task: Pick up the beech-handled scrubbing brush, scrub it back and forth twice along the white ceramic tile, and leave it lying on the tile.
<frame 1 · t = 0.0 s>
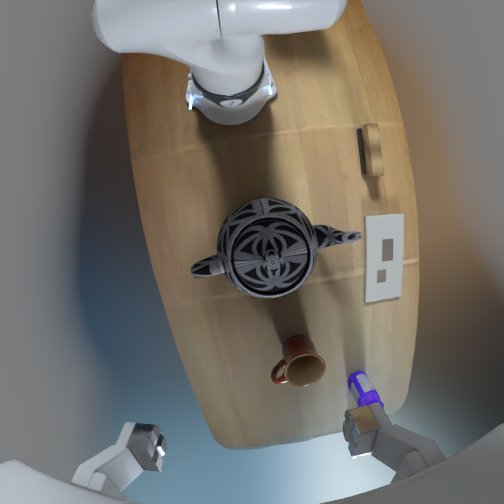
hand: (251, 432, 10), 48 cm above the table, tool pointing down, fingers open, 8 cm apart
teapot: (270, 242, 57), on the table
bottle: (356, 379, 66), on the table
tile: (383, 257, 58), on the table
mug: (291, 348, 63), on the table
brush: (367, 151, 53), on the table
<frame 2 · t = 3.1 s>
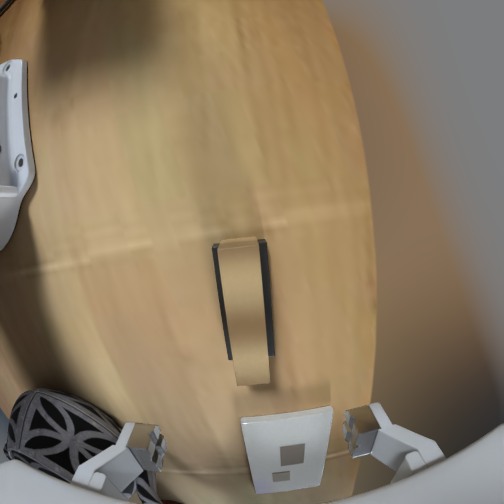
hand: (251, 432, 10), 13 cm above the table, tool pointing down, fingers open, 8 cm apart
teapot: (91, 426, 27), on the table
tile: (287, 457, 28), on the table
brush: (245, 301, 23), on the table
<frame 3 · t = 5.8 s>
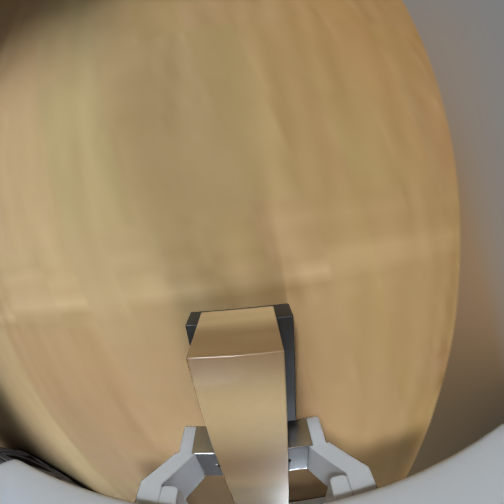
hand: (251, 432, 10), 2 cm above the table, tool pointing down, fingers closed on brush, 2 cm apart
teapot: (66, 486, 16), on the table
brush: (251, 398, 12), on the table, touching gripper
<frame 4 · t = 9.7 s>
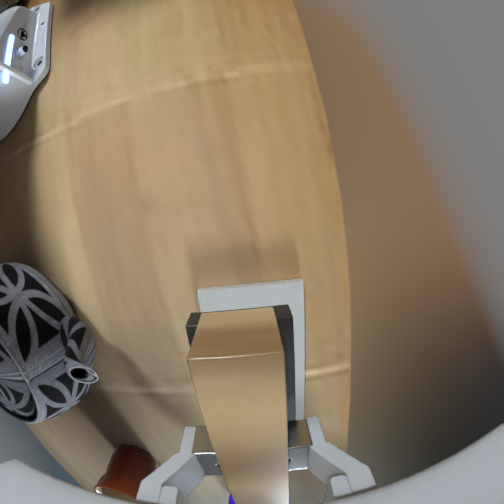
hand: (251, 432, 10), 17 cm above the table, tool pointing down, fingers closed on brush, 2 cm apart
teapot: (51, 324, 27), on the table
decorative object: (17, 2, 15), on the table
bottle: (245, 495, 36), on the table
tile: (258, 367, 29), on the table
mug: (130, 455, 33), on the table
brush: (251, 398, 12), point 15 cm above the table, touching gripper
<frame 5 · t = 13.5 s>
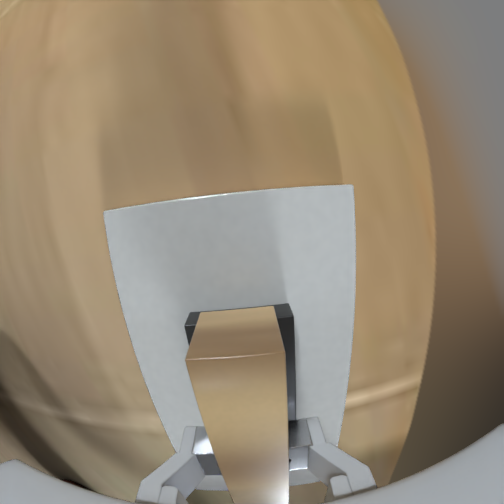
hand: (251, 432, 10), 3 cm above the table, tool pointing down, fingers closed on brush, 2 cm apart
tile: (249, 393, 13), on the table
brush: (251, 399, 12), point 1 cm above the table, touching gripper
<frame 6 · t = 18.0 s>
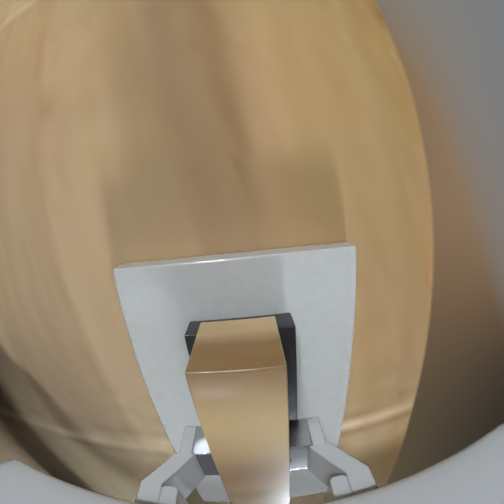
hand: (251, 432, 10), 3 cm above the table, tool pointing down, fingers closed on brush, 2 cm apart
tile: (253, 422, 14), on the table
brush: (251, 407, 12), point 1 cm above the table, touching gripper
when the fingers open (3 cm above the table, at t = 21.5 s): brush stays where it is, resting on tile.
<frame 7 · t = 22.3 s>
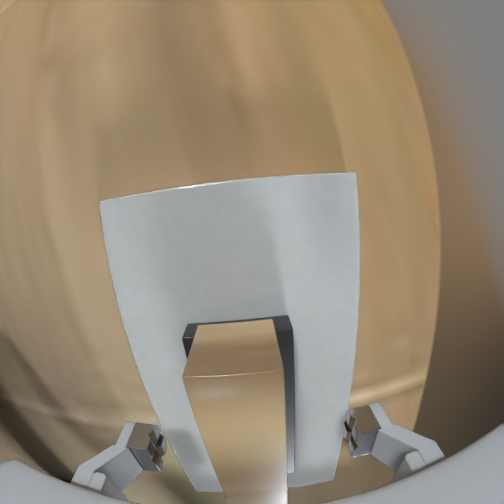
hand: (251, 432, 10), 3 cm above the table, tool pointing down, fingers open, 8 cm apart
tile: (249, 391, 13), on the table
brush: (249, 408, 12), point 1 cm above the table, touching tile
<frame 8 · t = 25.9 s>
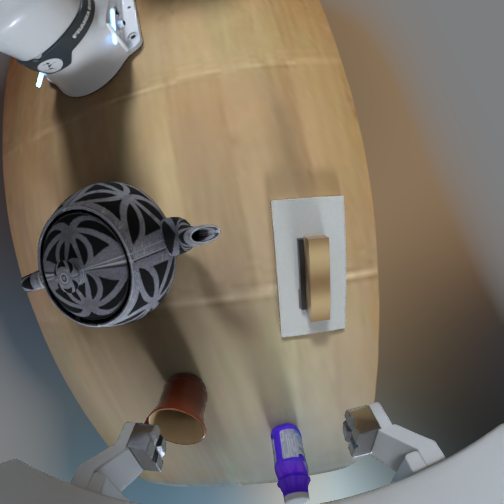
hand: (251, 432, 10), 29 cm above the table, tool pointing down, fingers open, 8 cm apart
teapot: (127, 245, 37), on the table
bottle: (285, 431, 46), on the table
tile: (311, 268, 39), on the table
mug: (180, 388, 43), on the table
brush: (312, 272, 38), point 1 cm above the table, touching tile
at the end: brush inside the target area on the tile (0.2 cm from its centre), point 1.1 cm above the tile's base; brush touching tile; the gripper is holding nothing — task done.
